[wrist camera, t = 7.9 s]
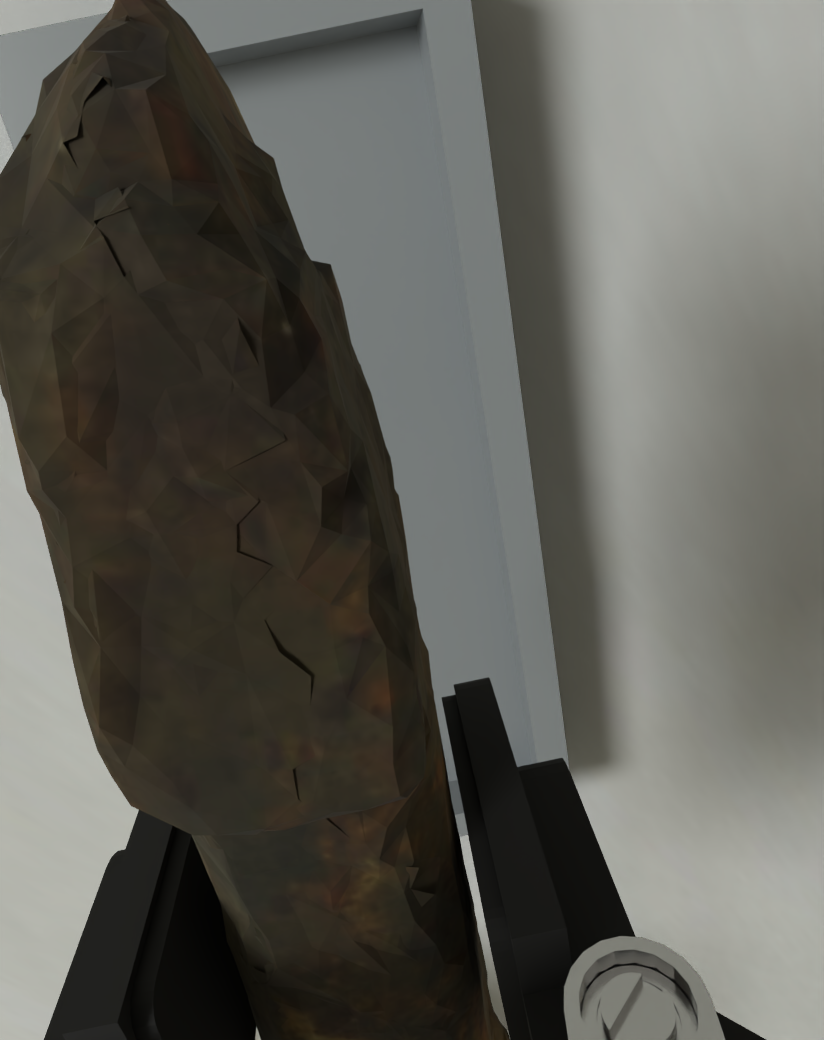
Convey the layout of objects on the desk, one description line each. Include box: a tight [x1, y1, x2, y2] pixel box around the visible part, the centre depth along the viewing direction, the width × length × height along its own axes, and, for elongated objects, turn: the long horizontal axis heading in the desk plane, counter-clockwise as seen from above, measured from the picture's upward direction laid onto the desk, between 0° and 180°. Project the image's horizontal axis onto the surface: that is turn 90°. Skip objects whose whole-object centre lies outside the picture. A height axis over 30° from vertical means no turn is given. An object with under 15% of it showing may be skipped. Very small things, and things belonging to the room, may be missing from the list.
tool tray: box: [0, 0, 570, 837], centre depth 20 cm, size 10×24×2 cm, turn 11°
